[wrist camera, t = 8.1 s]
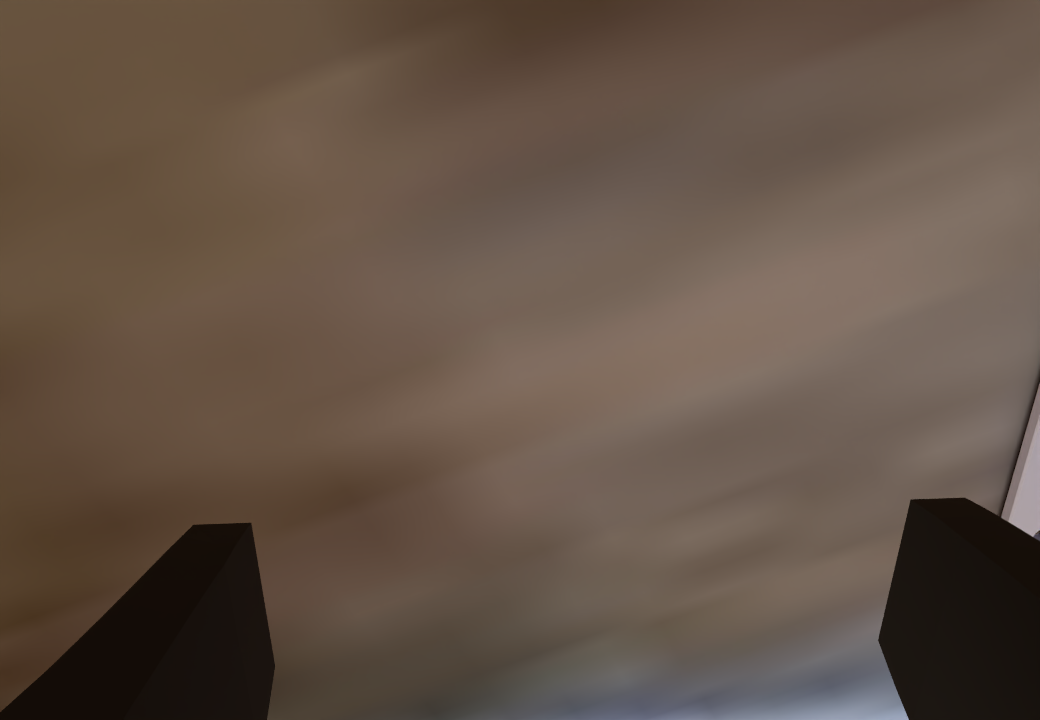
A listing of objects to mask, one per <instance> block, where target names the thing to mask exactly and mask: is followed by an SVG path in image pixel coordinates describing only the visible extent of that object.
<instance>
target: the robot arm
mask: <svg viewBox="0 0 1040 720" xmlns="http://www.w3.org/2000/svg"><path fill="white" fill-rule="evenodd" d="M1038 531H1040V384H1039V388H1038V391H1037V395H1036V398H1035V401H1034V405H1033V408H1032V412H1031V415H1030V419H1029V422H1028V426H1027V429H1026V433H1025V436H1024V440H1023V443H1022V447H1021V450H1020V453H1019V457H1018V460H1017V464H1016V467H1015V471H1014V474H1013V478H1012V481H1011V485H1010V488H1009V492H1008V495H1007V498H1006V502H1005V505H1004V509H1003V512H1002V516H1001V517H999V516H997V515H996V514H994V513H992V512H990V511H989V510H987V509H985V508H983V507H981V506H980V505H978V504H976V503H974V502H972V501H970V500H968V499H966V498H942V499H913V500H910V505H909V509H908V513H907V518H906V522H905V526H904V531H903V535H902V539H901V544H900V548H899V552H898V557H897V561H896V565H895V570H894V574H893V578H892V583H891V587H890V591H889V596H888V600H887V604H886V609H885V613H884V617H883V622H882V626H881V630H880V634H879V639H878V641H879V644H880V646H881V649H882V652H883V654H884V657H885V660H886V662H887V665H888V668H889V671H890V673H891V676H892V679H893V681H894V684H895V687H896V689H897V692H898V694H899V696H900V699H901V701H902V704H903V706H904V709H905V711H906V714H907V716H908V718H909V720H1040V533H1039V534H1037V535H1035V533H1037V532H1038ZM274 669H275V663H274V657H273V651H272V645H271V639H270V633H269V627H268V621H267V615H266V609H265V603H264V597H263V591H262V585H261V579H260V573H259V567H258V561H257V555H256V549H255V543H254V537H253V531H252V525H251V523H233V524H204V525H193V526H192V527H191V528H190V529H189V530H188V531H187V532H186V533H185V534H184V535H183V536H182V537H181V538H180V539H179V540H178V541H177V542H176V543H175V544H174V545H172V546H171V547H170V548H169V549H168V550H167V551H166V552H165V553H164V554H163V556H162V557H161V558H160V559H159V560H158V561H157V562H156V563H155V564H154V565H153V566H152V567H151V568H150V569H149V570H148V571H147V572H146V573H145V574H144V575H143V576H142V577H141V578H140V579H139V580H138V581H137V582H136V583H135V584H134V585H133V586H132V587H131V588H130V589H129V590H128V591H127V592H126V593H125V594H124V595H123V596H122V597H121V598H120V599H119V600H118V601H117V602H116V603H115V604H114V605H113V606H112V607H111V608H110V609H109V610H108V611H107V612H106V613H105V614H104V615H103V616H102V617H101V618H100V619H99V620H98V621H97V622H96V623H95V624H94V625H93V626H92V627H91V628H90V629H89V630H88V631H87V632H86V633H85V634H84V635H83V636H82V637H81V638H80V639H79V640H78V641H77V642H76V643H75V644H74V645H73V646H72V647H71V648H70V649H68V650H67V651H66V652H65V653H64V654H63V655H62V656H61V657H60V658H59V659H58V660H57V661H56V662H55V663H54V664H53V665H52V666H51V667H50V668H49V669H48V670H47V671H46V672H45V673H44V674H42V675H41V676H40V677H39V678H38V679H37V680H36V681H35V682H34V683H32V684H31V685H30V686H29V687H28V688H27V689H26V690H25V691H23V692H22V693H21V694H20V695H19V696H18V697H17V698H16V699H15V700H13V701H12V702H11V703H10V704H9V705H8V706H7V707H6V708H5V709H3V710H2V711H1V712H0V720H267V715H268V709H269V702H270V696H271V689H272V683H273V676H274Z"/></svg>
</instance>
